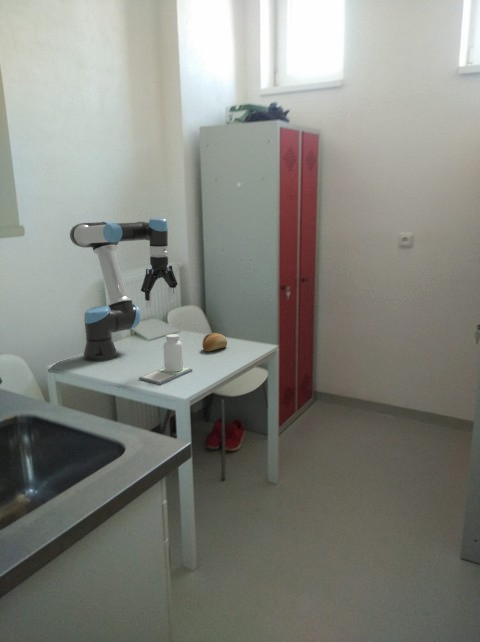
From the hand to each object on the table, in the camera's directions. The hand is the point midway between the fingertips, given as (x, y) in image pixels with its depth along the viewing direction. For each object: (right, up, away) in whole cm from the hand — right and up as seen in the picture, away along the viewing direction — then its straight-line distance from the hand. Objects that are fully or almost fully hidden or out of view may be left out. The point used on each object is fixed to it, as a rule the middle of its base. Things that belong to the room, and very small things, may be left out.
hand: (160, 304), depth 220 cm
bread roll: (+22, -21, +31) cm, 43 cm away
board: (+4, -30, -6) cm, 31 cm away
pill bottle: (+6, -28, -3) cm, 29 cm away
